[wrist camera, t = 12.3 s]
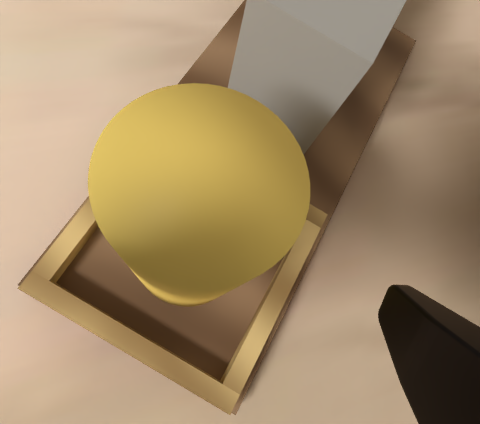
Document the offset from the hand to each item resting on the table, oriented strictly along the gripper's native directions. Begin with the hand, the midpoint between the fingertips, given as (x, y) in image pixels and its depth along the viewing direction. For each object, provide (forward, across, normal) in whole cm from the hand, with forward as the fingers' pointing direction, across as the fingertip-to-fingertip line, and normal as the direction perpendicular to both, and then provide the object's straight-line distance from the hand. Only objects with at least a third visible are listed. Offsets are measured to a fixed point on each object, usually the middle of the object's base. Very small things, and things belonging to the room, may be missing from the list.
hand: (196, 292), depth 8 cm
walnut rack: (+17, -4, +1) cm, 18 cm away
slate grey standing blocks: (+21, -8, -4) cm, 22 cm away
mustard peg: (+11, 0, +6) cm, 12 cm away
